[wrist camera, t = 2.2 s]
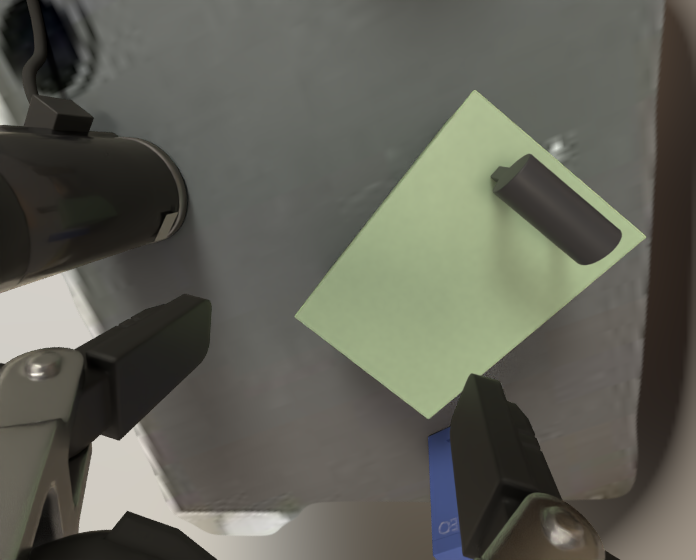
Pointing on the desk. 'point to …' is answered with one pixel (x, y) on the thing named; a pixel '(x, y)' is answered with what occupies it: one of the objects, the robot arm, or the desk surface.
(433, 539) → the walkman
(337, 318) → the lid
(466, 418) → the robot arm
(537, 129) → the desk surface
